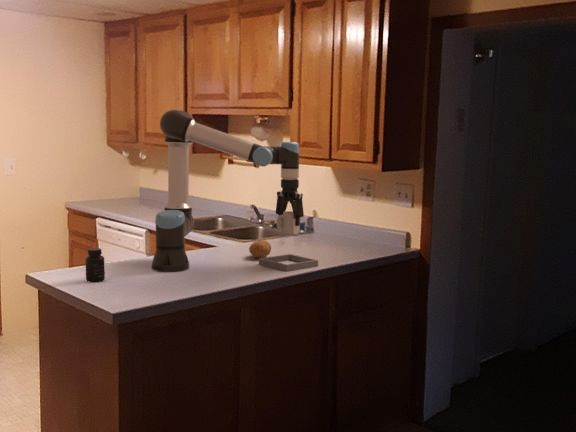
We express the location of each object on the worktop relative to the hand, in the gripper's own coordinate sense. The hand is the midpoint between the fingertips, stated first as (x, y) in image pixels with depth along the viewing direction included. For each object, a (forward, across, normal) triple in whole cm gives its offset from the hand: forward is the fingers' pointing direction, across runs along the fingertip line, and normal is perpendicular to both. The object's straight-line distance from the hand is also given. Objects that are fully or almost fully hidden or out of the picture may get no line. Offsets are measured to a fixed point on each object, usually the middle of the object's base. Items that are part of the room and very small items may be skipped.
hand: (289, 232), depth 278 cm
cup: (+1, +1, 0) cm, 1 cm away
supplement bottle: (+14, +23, +77) cm, 82 cm away
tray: (+14, 0, 0) cm, 14 cm away
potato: (+14, +20, -1) cm, 25 cm away
